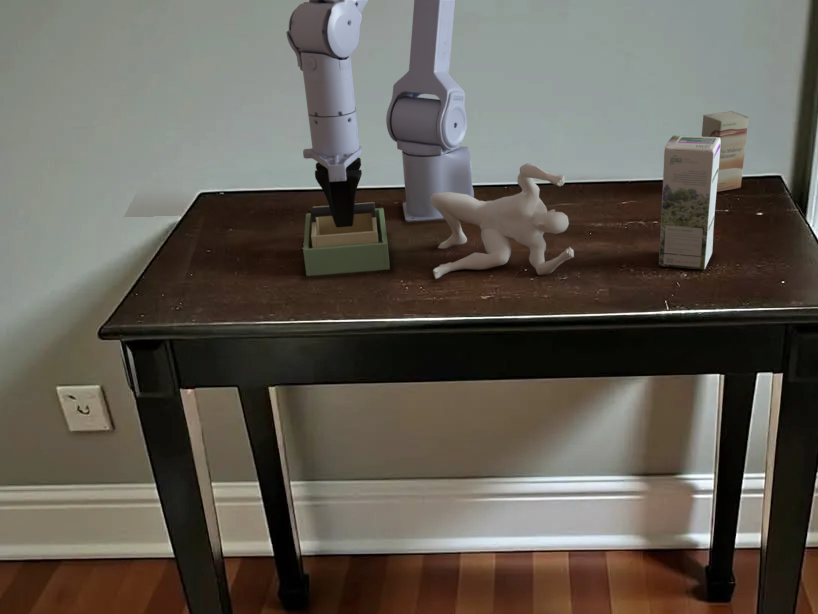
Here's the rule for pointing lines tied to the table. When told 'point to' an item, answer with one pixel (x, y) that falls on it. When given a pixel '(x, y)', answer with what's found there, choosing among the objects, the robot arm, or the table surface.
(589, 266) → the table surface
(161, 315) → the table surface
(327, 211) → the cream bin
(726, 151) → the makeup remover box
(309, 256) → the sage bin
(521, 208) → the person figurine
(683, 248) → the syrup box
